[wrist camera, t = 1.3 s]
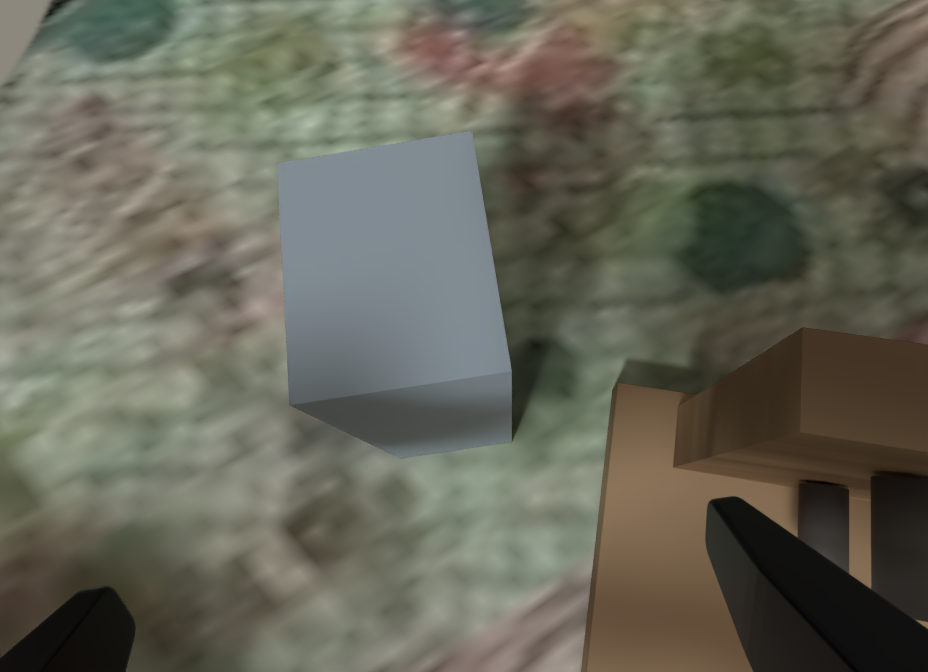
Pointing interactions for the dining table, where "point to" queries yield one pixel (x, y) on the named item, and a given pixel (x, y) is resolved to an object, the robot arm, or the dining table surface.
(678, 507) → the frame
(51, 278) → the dining table surface
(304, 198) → the grey rectangular block
